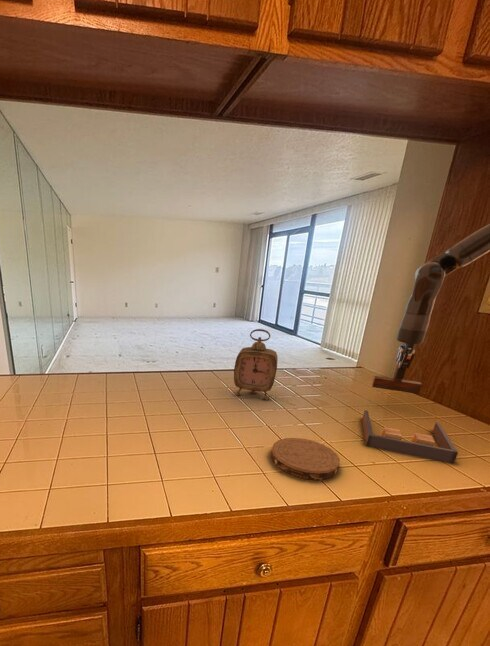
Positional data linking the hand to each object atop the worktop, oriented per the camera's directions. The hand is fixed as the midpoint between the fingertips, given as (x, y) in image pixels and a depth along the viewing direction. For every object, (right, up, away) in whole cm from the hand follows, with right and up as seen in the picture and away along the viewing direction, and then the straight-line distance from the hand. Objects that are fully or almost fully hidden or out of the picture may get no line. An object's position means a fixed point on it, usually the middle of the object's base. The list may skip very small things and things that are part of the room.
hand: (398, 377), depth 120 cm
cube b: (-11, -22, -25) cm, 35 cm away
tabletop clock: (-48, -6, +10) cm, 50 cm away
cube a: (-18, -21, -22) cm, 35 cm away
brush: (0, -4, +2) cm, 5 cm away
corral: (-12, -19, -19) cm, 30 cm away
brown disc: (-46, -24, -32) cm, 62 cm away
